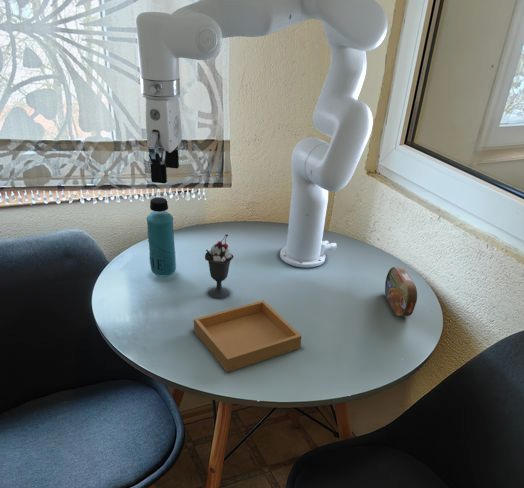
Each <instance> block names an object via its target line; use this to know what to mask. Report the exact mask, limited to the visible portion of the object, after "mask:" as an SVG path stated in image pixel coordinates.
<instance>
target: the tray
mask: <svg viewBox="0 0 524 488" xmlns="http://www.w3.org/2000/svg"><path fill="white" fill-rule="evenodd" d="M193 333H195V334H196V336H197V337H198V339H200V341H201V342H202V343H203V344H204V345H205V347H206V348H207V349H208V351H210V353H211V354H212V355H213V357H214V358H215V359H216V360H217V361H218V362H219V364H220V365H221V366H222V368H223V369H224V370H225V371H226V372H227V373H230V372H232V371H236V370H238V369H242V368H244V367H248V366H250V365H254V364H256V363H259V362H263V361H266V360H269V359H271V358H275V357H278V356H280V355H284V354H286V353H290V352H293V351H296V350H298V349H301V344H302V337H303V335H301V334H300V333H299V331H298V330H297V329H296V328H294V327H293V326H292V325H291V324H290V323H289V322H288V321H287V320H285V319H284V318H283V317H282V315H280V314H279V313H278V312H277V311H276V310H275V309H273V307H272V306H270V304H269V303H267V302H266V301H265V300H264V299H263V300H258V301H256V302H252V303H248V304H244V305H240V306H237V307H232V308H229V309H226V310H223V311H218V312H215V313H210V314H207V315H203V316H199V317H195V318H193Z"/></svg>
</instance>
